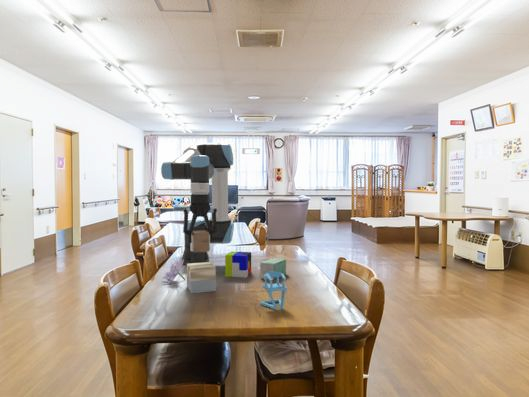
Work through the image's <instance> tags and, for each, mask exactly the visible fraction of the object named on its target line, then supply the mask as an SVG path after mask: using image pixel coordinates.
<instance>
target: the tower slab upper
mask: <svg viewBox="0 0 529 397" xmlns="http://www.w3.org/2000/svg"><path fill="white" fill-rule="evenodd" d="M216 272H217V268H216V265H214V263H213V262H211V261H209V262H204V263H189V264H187V265H186V278H187V277H188V278H189V280H190V281H200V280H212V279H216V280H217V274H216Z"/></svg>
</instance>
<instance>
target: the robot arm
mask: <svg viewBox="0 0 529 397" xmlns="http://www.w3.org/2000/svg"><path fill="white" fill-rule="evenodd" d="M233 165H234V154H233V147H232V146H231V144H230V143H224V142H202V143H201V142H200V143H197V144H194V145H191V146H188V147H187V148H186V149H184V151H183V152H182V154H181V155H179V156H178V157H177V158H176V159H174V160H173V161H166V162H165V161H164V162H162V164H161V168H160V172H161V173H160V174H161V176H162V178H163V179H164V180H190V193H191V194H190V206H189V207H188V208H183V209H182V212H183V215H184V217H183V228H182V229H183V230H182V233H183V234H184V238H183V239H184V249H183V252H182V255H181V257H182V260H183V259H184V261H183V264H182V265H185V266H187V264H189V263H204V262H210V256H209V253H208V252H196V253H194V252H193V251H194V241H193V235H192V231H200V230H206V231H208V232H209V251H211V244H215V245H216V244H218V245H220V244H221V245H224V244H226V245H227V244H230V243H231V242H232V241H233V236H234V230H235V223H234V222H233V221H232V218H231V216H229V180H228V179H229V171H230V170H231V166H233ZM210 179H211V205H210V194H209V193H210ZM190 212H191V213H192V217H191V220H189V214H190ZM209 212H210V213H211V217H210V218H209V217H208V213H209ZM199 217H202V218H203V219H202V218H201V219H198V218H199ZM181 262H182V261H181Z"/></svg>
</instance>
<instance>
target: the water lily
mask: <svg viewBox="0 0 529 397" xmlns="http://www.w3.org/2000/svg"><path fill="white" fill-rule="evenodd" d="M181 261H182V262H181ZM183 261H184V259H183V260H182V256H180V258H179V260H176V261H175V264H174V263H173V264H171V265H170V267H169V268H170V270H169V271H168V272H165V273H164V276H163V277H162V278H161V280H164V279H166V282H167V281H168V280H169V281H168V283H167V285H169V284H171V283H172V282H173V281H174V280H175V278H176V277H177V276H178V275H179V276H180V277H181V278H182V279H183V281H186V278H185V277H184V276H183V275H182V274H181V273H180V271H181V269H182V266H183V265H184V264H183Z"/></svg>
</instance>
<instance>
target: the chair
mask: <svg viewBox="0 0 529 397" xmlns="http://www.w3.org/2000/svg"><path fill="white" fill-rule="evenodd" d="M271 277H277V278H276V283H273V280H272V279H271ZM280 277H281V278H282V280H283V281H282V283H280ZM266 278H268V279H266ZM263 280H264V284H262V288H263V289H265V290H266V293H267V294H268V295H269V296H268V297H269V298H270V299H269V300H262V301H260V302H259V303H260V304H259V305H261V306H264V307H266V306H267V308H269V307H270V308H269V309H271V310H274V309H275V310H274V311H277V310H278V306H277V304H276V303H278V305H280V306H279V308H280V309H281V310H284V309H285V307H284V305H285V297H286V296H285V295H286V291H287V290H288V287H287V286H286V285H285V283H286V280H287V279H286V276H285V274H282V273H280V272H275V271H270V272H268V273H266V274H265V275H264V279H263ZM268 282H269V283H268ZM274 292H281V299H278V298H277V299H274V297H273V294H272V293H274ZM283 308H284V309H283Z"/></svg>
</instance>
